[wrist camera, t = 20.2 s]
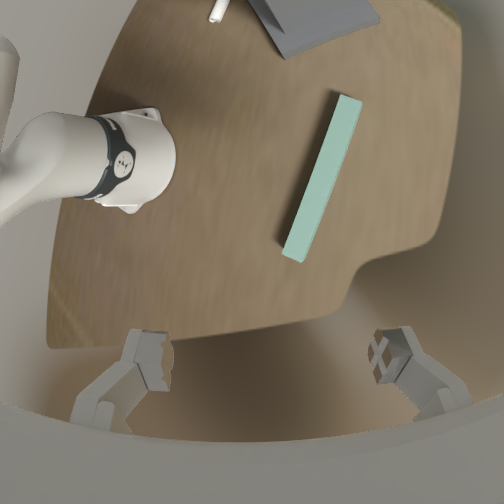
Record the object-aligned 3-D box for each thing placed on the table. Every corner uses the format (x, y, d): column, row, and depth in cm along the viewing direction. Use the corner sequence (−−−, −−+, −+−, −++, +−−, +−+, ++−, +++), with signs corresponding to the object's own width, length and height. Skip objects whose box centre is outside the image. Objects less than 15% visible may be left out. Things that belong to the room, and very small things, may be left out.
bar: (305, 258, 45) (301, 262, 42) (286, 250, 45) (281, 254, 43) (362, 107, 38) (362, 101, 35) (341, 100, 39) (340, 94, 36)
